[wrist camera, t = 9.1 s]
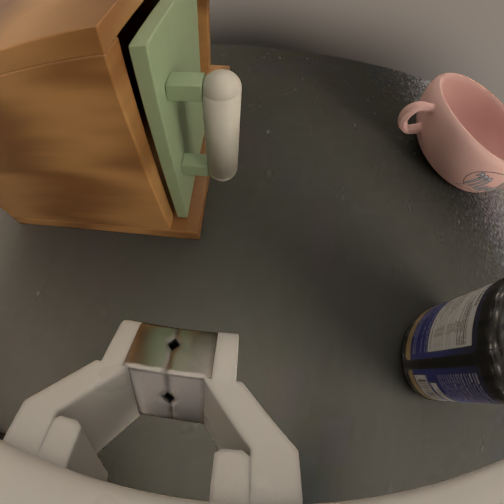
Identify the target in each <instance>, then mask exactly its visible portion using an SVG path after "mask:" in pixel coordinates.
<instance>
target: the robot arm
mask: <svg viewBox="0 0 504 504" xmlns="http://www.w3.org/2000/svg"><path fill="white" fill-rule="evenodd" d="M238 344H239V335H238V334H234V333H222V332H219V333H217V332H207V331H198V330H189V329H180V328H174V327H168V326H161V325H155V324H149V323H144V322H143V323H141V322H136V321H130V320H124V321H123V322H121V324H120V326H119V328H118V330H117V331H116V333H115V335H114V337H113V339H112V341H111V343H110V345H109V347H108V349H107V351H106V353H105V355H104V357H103V358H102V360H101V361H99V360H95V361H93V362H92V363H90V364H88V365H86V366H85V367H83V368H81V369H79V370H77V371H76V372H74V373H72V374H70V375H69V376H67V377H65V378H63V379H62V380H60V381H58V382H56V383H54V384H53V385H51V386H49V387H47V388H46V389H44V390H42V391H40V392H38V393H37V394H35V395H33V396H31V397H29V398H28V399H26V400H24V402H23V404H22V406H21V407H20V409H19V411H18V413H17V414H16V416H15V418H14V420H13V422H12V424H11V425H10V427H9V429H8V431H7V433H6V435H5V437H4V439H3V440H1V439H0V504H303V499H302V487H301V475H300V464H299V453H298V450H297V449H296V448H295V446H294V445H293V444H292V443H291V442H290V441H289V439H288V438H287V437H286V436H285V435H284V433H283V432H282V431H281V430H280V429H279V427H278V426H277V425H276V424H275V423H274V421H273V420H272V419H271V418H270V416H269V415H268V414H267V413H266V412H265V410H264V409H263V408H262V407H261V405H260V404H259V403H258V402H257V400H256V399H255V398H254V396H253V395H252V394H251V393H250V391H249V390H248V389H247V387H246V386H245V385H244V384H243V382H237V381H236V376H237V360H238ZM139 414H144V415H150V416H156V417H163V418H170V419H176V420H182V421H188V422H194V423H201V424H204V426H205V428H206V430H207V431H208V433H209V435H210V437H211V439H212V441H213V443H214V444H215V446H216V448H217V450H218V451H217V452H216V453H214V461H213V470H212V478H211V487H210V496H209V501H200V500H192V499H185V498H179V497H172V496H167V495H161V494H156V493H151V492H146V491H142V490H137V489H133V488H129V487H125V486H121V485H117V484H113V483H110V482H107V478H108V472H107V471H106V469H105V468H104V466H103V464H102V463H101V461H100V459H99V458H98V456H97V453H98V452H99V451H100V450H101V449H102V448H104V447H105V446H106V445H107V444H108V443H109V442H110V441H112V440H113V439H114V438H115V437H116V436H117V435H118V434H119V433H121V432H122V431H123V430H124V429H125V428H126V427H127V426H128V425H130V424H131V423H132V422H133V421H134V420H135V419H136V418H137V417H138V416H139ZM317 504H504V459H502V460H499V461H497V462H495V463H492V464H490V465H487V466H485V467H482V468H480V469H477V470H474V471H471V472H469V473H466V474H463V475H460V476H457V477H454V478H451V479H447V480H444V481H441V482H437V483H434V484H430V485H426V486H423V487H419V488H415V489H410V490H406V491H401V492H397V493H392V494H387V495H381V496H376V497H370V498H363V499H356V500H348V501H340V502H330V503H317Z"/></svg>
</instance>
